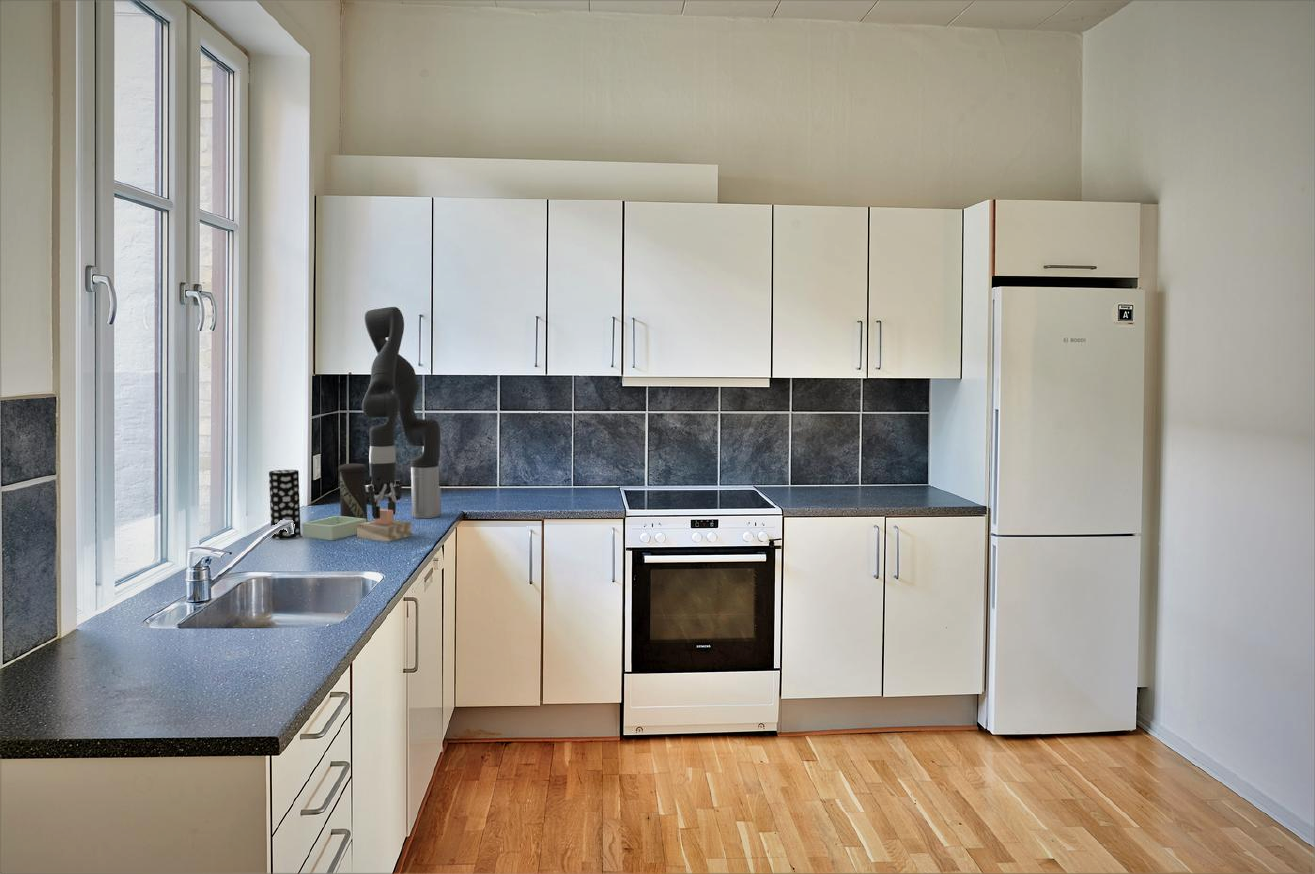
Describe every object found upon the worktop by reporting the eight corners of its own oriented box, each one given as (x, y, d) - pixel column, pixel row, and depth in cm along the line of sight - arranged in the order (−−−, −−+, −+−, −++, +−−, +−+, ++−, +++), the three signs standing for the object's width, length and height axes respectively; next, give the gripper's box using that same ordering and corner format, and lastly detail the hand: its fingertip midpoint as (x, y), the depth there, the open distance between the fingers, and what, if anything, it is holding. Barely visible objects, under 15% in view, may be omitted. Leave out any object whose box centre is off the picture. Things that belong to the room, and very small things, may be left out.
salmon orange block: (381, 534, 277) (380, 508, 276) (393, 536, 275) (393, 510, 274) (375, 536, 275) (374, 510, 274) (388, 537, 273) (387, 511, 272)
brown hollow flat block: (381, 534, 282) (380, 517, 282) (411, 538, 277) (411, 521, 276) (357, 540, 273) (356, 523, 273) (388, 544, 268) (387, 526, 267)
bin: (337, 531, 287) (337, 515, 287) (366, 534, 282) (366, 518, 282) (302, 539, 275) (302, 523, 274) (332, 543, 270) (331, 526, 269)
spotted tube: (306, 534, 282) (304, 470, 280) (288, 540, 274) (286, 473, 272) (283, 533, 284) (281, 469, 282) (265, 538, 276) (262, 472, 275)
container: (334, 526, 296) (332, 464, 294) (350, 521, 304) (348, 461, 302) (358, 527, 294) (356, 465, 292) (373, 522, 302) (371, 462, 300)
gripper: (389, 457, 281) (391, 511, 282) (355, 462, 268) (356, 519, 270) (408, 459, 277) (410, 513, 279) (374, 464, 265) (376, 521, 266)
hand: (384, 516), depth 274 cm, fingers open, 5 cm apart
